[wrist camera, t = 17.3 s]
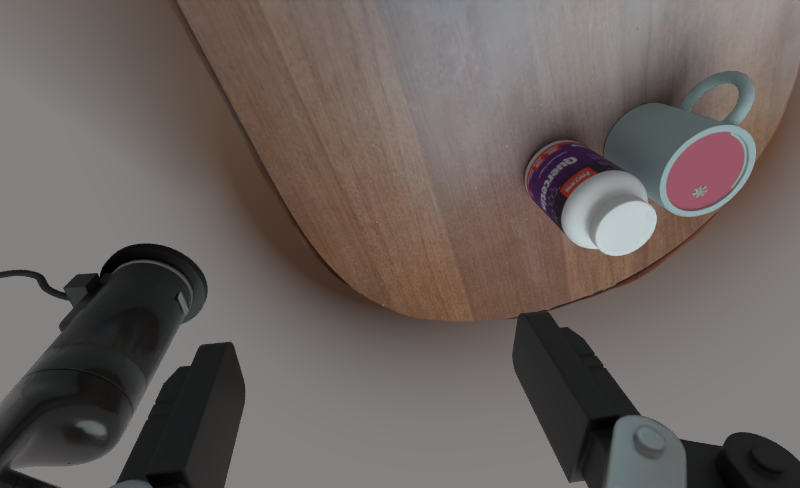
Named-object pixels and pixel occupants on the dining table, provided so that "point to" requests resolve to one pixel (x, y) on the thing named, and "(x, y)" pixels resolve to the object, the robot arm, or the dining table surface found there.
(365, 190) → the dining table surface
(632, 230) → the pill bottle
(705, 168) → the mug
